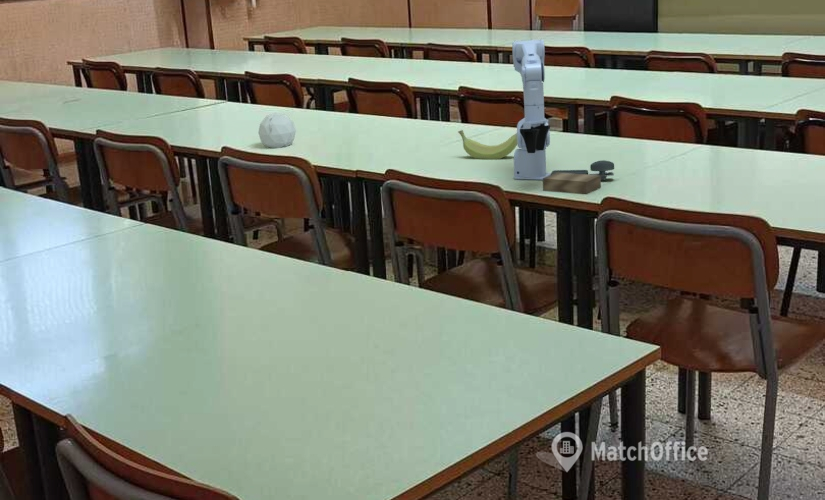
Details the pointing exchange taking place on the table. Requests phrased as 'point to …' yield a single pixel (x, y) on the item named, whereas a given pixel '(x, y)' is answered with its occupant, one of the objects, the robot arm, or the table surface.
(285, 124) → the geodesic sphere
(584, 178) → the walnut block
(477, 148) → the banana
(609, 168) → the can opener
